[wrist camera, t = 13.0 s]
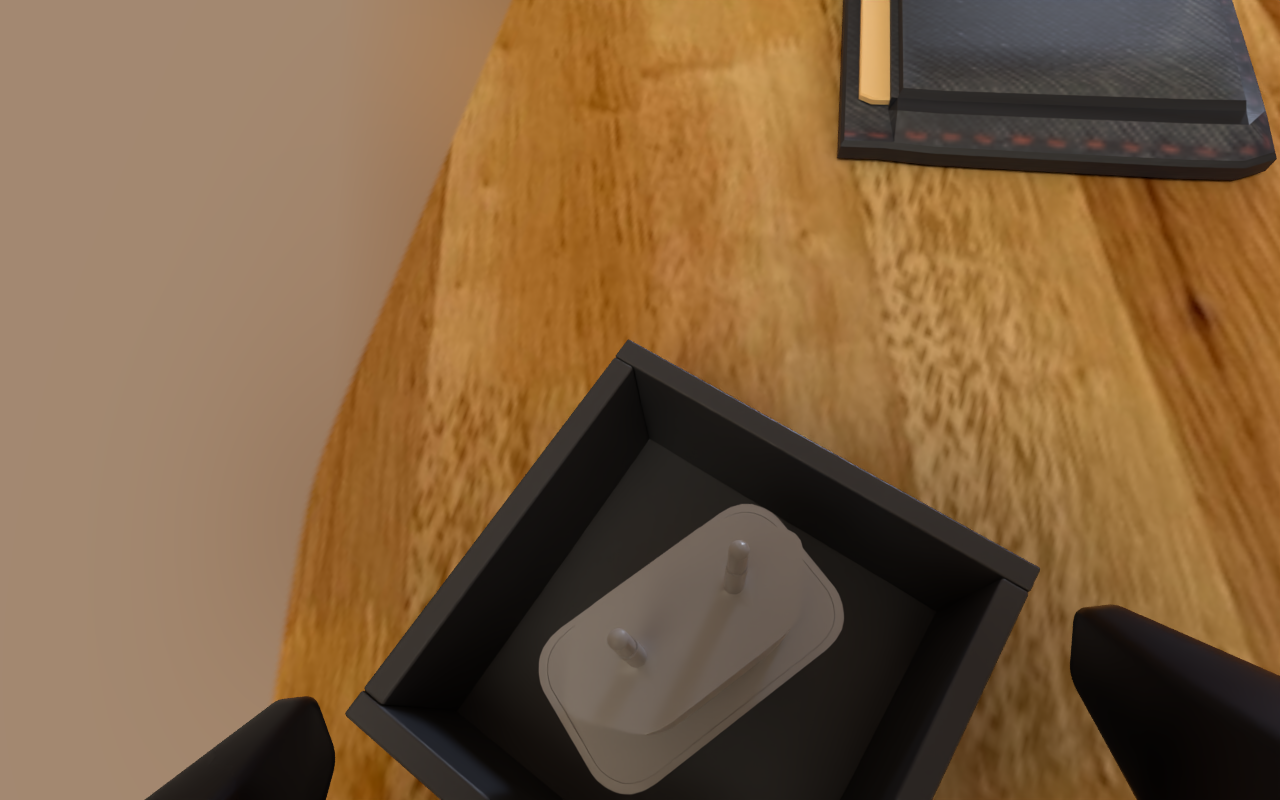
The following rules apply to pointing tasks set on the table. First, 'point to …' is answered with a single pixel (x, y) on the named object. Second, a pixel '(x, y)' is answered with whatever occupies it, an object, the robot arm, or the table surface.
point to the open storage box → (641, 532)
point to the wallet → (1053, 87)
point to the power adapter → (688, 646)
